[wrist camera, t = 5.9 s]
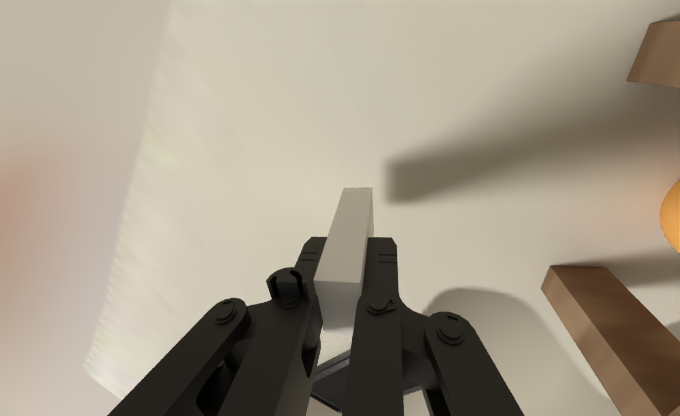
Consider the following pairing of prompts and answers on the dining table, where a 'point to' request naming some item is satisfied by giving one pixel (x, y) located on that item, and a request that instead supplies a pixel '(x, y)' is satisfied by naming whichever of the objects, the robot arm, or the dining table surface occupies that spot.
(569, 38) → the dining table surface
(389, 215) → the dining table surface
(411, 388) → the phone
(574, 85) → the dining table surface
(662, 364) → the bridge
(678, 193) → the ball
